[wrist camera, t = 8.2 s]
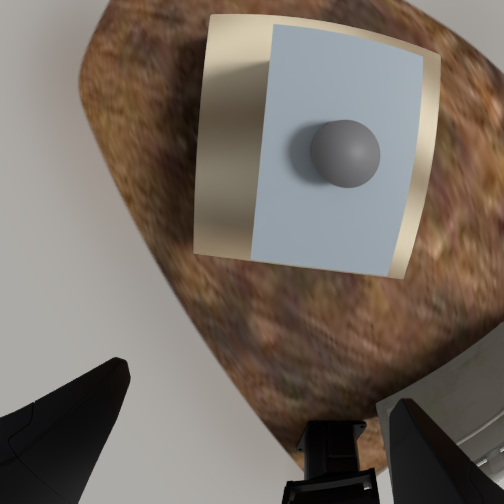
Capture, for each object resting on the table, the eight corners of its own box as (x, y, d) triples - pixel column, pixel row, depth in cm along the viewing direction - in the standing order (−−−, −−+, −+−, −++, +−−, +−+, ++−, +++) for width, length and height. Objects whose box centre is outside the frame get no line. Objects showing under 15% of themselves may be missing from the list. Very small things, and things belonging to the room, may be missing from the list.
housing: (277, 59, 11) (272, 14, 6) (379, 78, 11) (433, 52, 6) (261, 218, 15) (247, 270, 9) (357, 230, 14) (393, 287, 9)
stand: (387, 257, 18) (403, 279, 15) (206, 234, 19) (193, 253, 16) (418, 64, 13) (440, 55, 10) (222, 32, 13) (210, 14, 11)
